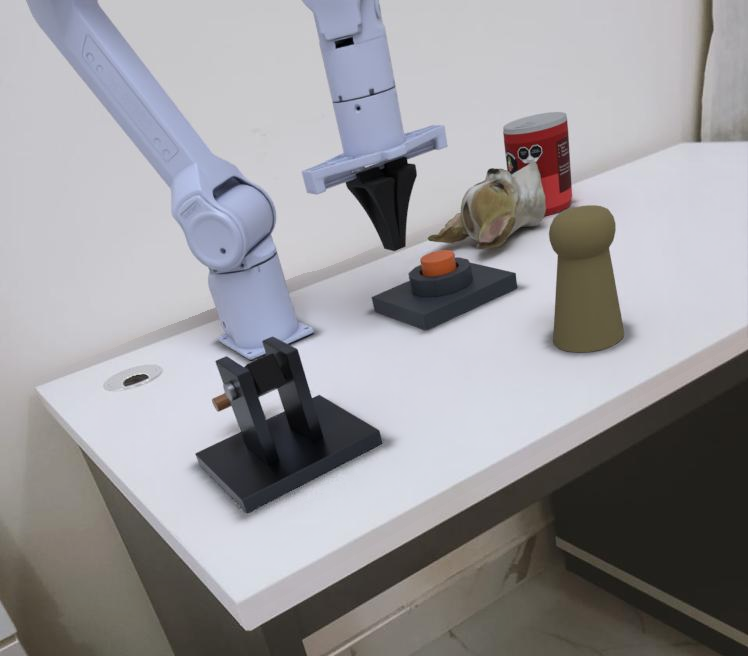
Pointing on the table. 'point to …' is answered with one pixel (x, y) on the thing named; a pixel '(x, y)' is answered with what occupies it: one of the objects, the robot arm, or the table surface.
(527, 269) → the table surface
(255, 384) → the lever
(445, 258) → the button
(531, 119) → the canned food
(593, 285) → the olive pawn
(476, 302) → the button box
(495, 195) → the ceramic sculpture
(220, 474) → the bracket
